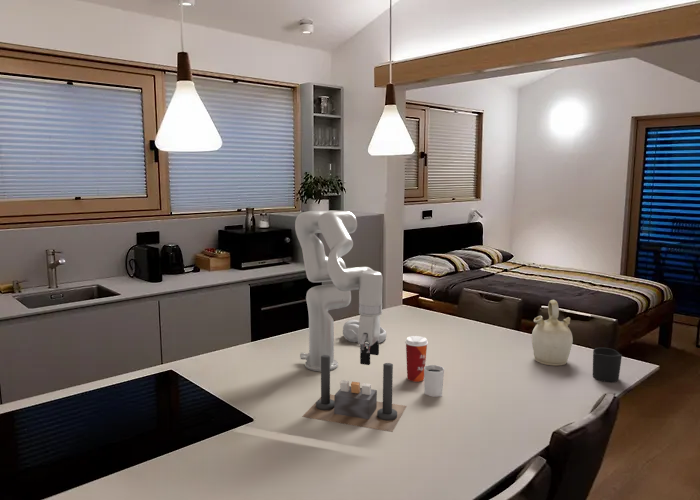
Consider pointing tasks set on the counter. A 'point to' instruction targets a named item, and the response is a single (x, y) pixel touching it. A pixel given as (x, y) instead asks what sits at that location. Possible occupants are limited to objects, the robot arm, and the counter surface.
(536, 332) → the jug
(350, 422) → the breaker panel
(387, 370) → the cord post right
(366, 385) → the paddle right
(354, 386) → the paddle middle
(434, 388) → the white cup
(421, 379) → the coffee cup
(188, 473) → the counter surface
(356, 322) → the headphones
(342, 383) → the paddle left
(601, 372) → the pen holder
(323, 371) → the cord post left
